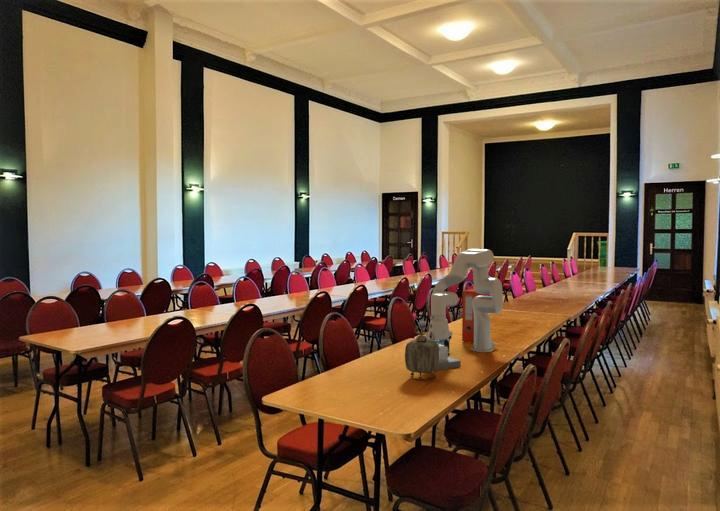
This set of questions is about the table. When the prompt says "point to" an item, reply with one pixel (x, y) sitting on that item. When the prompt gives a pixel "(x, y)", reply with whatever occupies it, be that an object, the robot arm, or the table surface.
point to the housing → (443, 352)
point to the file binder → (468, 315)
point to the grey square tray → (448, 364)
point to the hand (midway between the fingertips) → (439, 350)
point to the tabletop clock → (421, 355)
